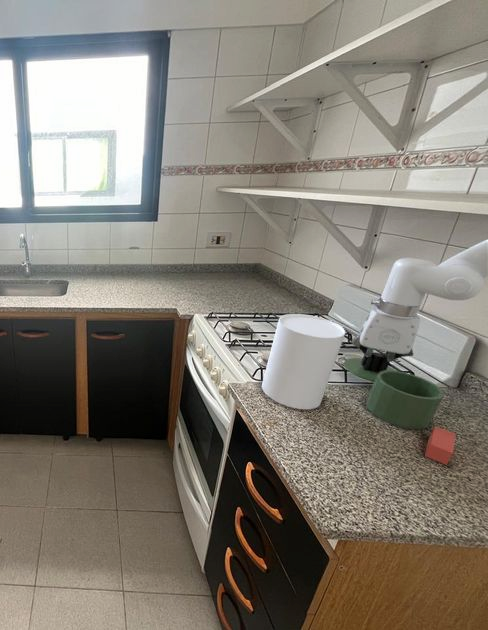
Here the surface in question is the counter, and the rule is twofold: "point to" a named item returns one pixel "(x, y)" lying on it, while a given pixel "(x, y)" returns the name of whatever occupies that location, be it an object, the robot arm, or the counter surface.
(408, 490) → the counter surface
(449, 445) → the red rectangular block
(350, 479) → the counter surface
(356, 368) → the tin lid
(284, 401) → the canister
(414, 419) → the tin
